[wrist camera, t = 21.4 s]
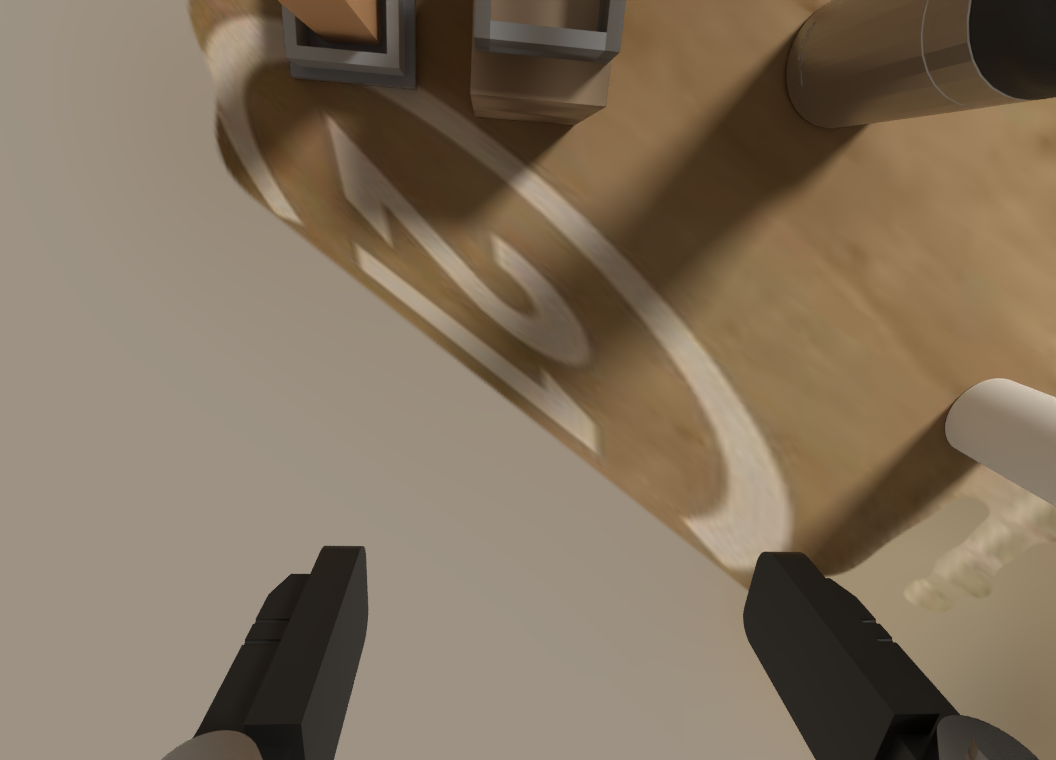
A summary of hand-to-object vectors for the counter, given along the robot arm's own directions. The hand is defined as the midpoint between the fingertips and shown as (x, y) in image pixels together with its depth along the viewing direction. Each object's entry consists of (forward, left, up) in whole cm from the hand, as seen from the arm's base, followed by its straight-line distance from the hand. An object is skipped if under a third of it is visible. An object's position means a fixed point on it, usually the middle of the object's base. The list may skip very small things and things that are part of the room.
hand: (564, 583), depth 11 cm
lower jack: (+12, -18, -38) cm, 44 cm away
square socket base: (-1, -18, -38) cm, 42 cm away
